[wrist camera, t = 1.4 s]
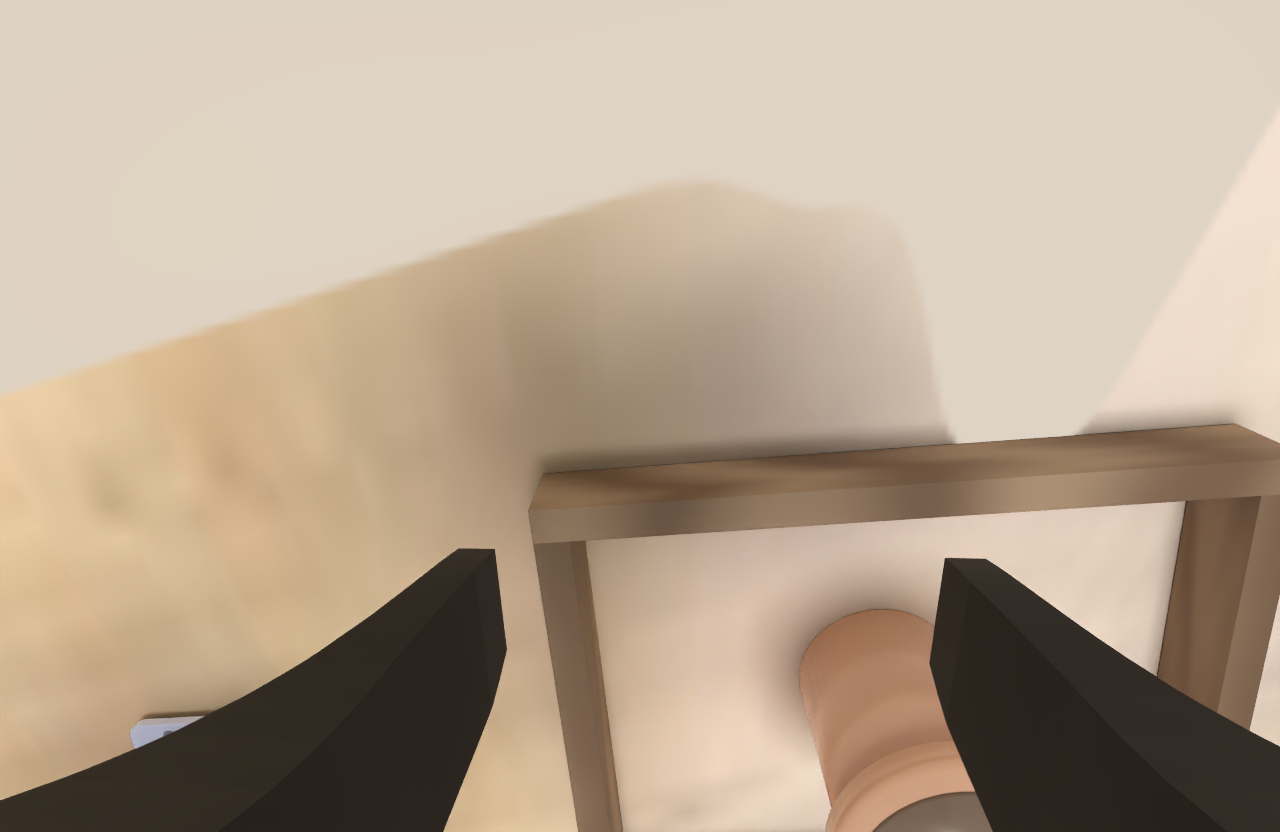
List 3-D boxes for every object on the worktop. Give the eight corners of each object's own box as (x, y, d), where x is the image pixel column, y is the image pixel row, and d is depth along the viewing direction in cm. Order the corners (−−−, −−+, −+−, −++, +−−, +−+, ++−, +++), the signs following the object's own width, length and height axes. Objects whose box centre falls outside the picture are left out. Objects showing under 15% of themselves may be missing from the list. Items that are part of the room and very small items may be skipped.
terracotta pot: (789, 748, 25) (835, 965, 18) (784, 604, 23) (834, 785, 16) (960, 740, 24) (1073, 958, 18) (970, 593, 23) (1100, 773, 16)
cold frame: (600, 867, 27) (594, 934, 25) (542, 473, 22) (528, 511, 19) (1157, 846, 26) (1207, 914, 23) (1236, 424, 21) (1310, 457, 18)
